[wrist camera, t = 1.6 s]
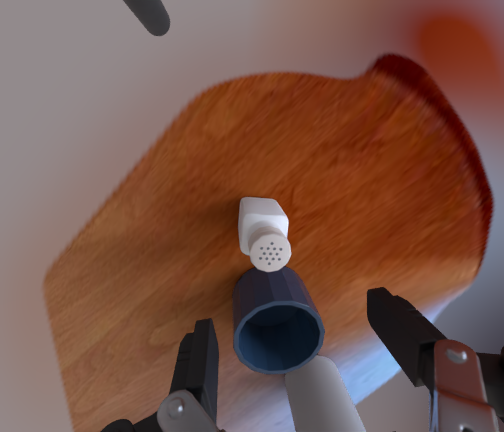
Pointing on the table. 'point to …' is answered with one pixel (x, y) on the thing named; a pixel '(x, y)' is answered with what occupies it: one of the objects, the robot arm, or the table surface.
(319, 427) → the can
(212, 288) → the table surface
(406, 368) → the robot arm
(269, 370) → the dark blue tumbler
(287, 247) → the salt shaker
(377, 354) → the table surface
